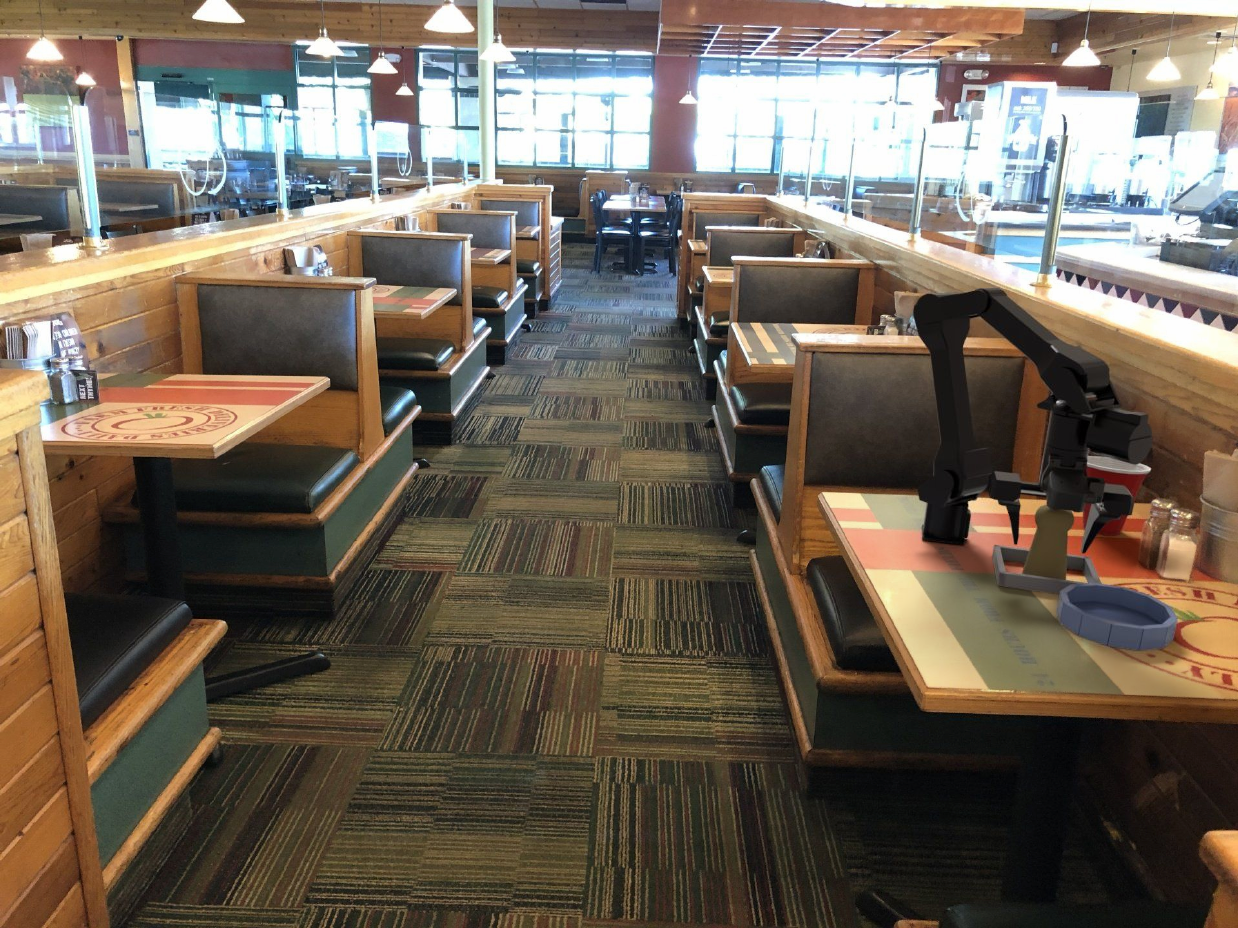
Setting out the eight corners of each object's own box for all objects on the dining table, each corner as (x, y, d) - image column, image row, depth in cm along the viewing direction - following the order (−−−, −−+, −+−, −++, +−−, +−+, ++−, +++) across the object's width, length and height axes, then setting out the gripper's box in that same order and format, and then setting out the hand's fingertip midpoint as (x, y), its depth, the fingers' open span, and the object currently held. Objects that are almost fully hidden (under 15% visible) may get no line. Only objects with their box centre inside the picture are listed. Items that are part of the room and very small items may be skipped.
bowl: (1064, 639, 125) (1068, 618, 124) (1051, 596, 138) (1055, 577, 137) (1182, 657, 121) (1187, 635, 121) (1158, 611, 134) (1162, 591, 133)
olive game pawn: (1058, 570, 147) (1070, 501, 144) (1071, 587, 141) (1085, 515, 138) (1016, 567, 147) (1028, 498, 144) (1028, 584, 142) (1041, 512, 138)
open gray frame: (997, 585, 141) (1000, 572, 140) (992, 556, 151) (994, 544, 151) (1100, 600, 137) (1103, 586, 136) (1087, 569, 148) (1089, 557, 147)
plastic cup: (1136, 525, 168) (1150, 458, 164) (1138, 545, 158) (1153, 475, 155) (1067, 513, 172) (1079, 448, 168) (1065, 533, 162) (1078, 464, 159)
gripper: (1001, 453, 133) (984, 559, 138) (1152, 469, 128) (1129, 578, 133) (995, 433, 143) (980, 532, 148) (1135, 447, 139) (1114, 549, 143)
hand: (1048, 548), depth 143 cm, fingers open, 9 cm apart
